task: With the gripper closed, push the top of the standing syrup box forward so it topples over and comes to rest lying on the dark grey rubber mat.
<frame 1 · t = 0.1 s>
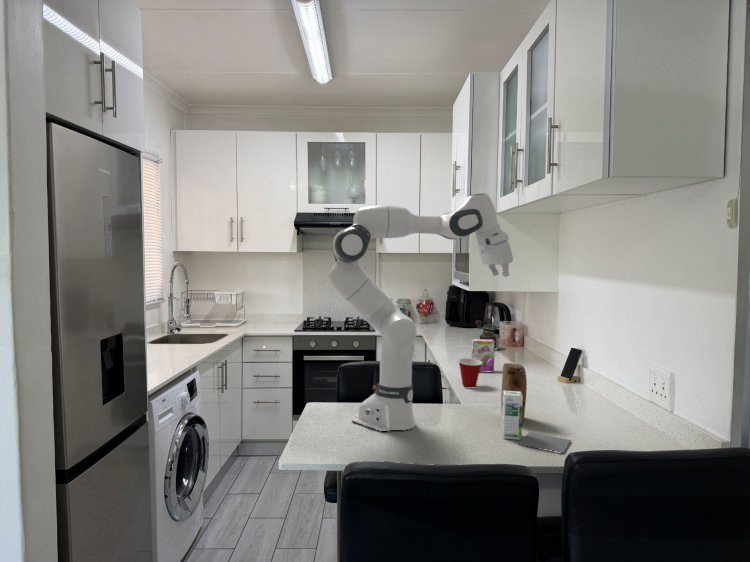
hand: (501, 275, 173), 52 cm above the table, tool tilted 20°, fingers open, 8 cm apart
block: (513, 420, 176), on the table
syrup box: (511, 437, 160), on the table
candy bar box: (482, 371, 253), on the table
plastic cup: (469, 387, 222), on the table
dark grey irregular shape: (485, 349, 318), on the table
mat: (545, 443, 154), on the table
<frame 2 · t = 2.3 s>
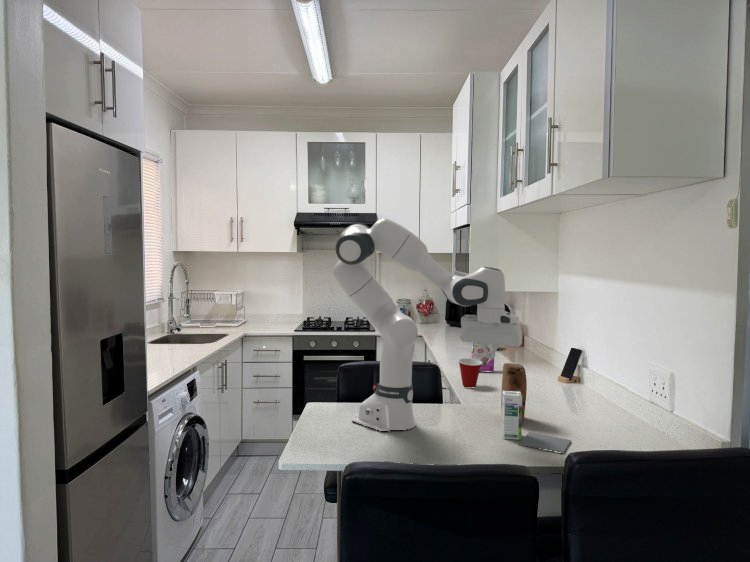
hand: (489, 357, 163), 25 cm above the table, tool pointing down, fingers closed
nothing on the table moved.
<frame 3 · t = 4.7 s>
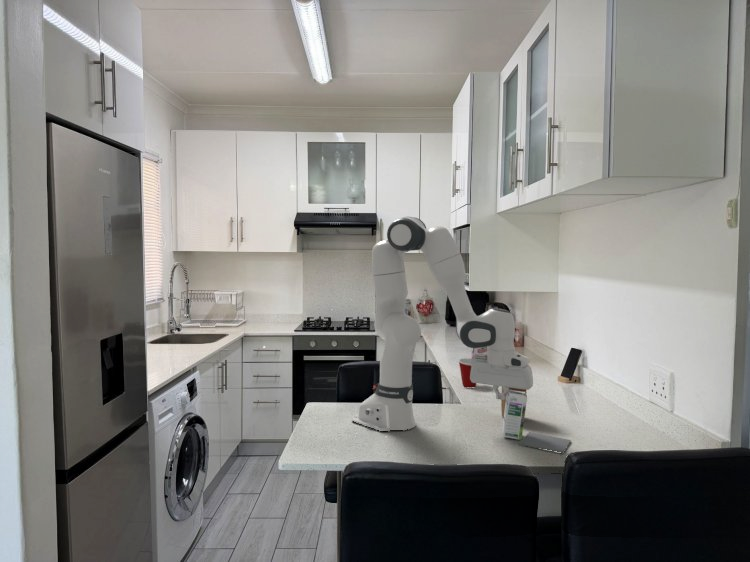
hand: (500, 399, 162), 12 cm above the table, tool pointing down, fingers closed
syrup box: (511, 436, 160), on the table, touching gripper
everything else where it was.
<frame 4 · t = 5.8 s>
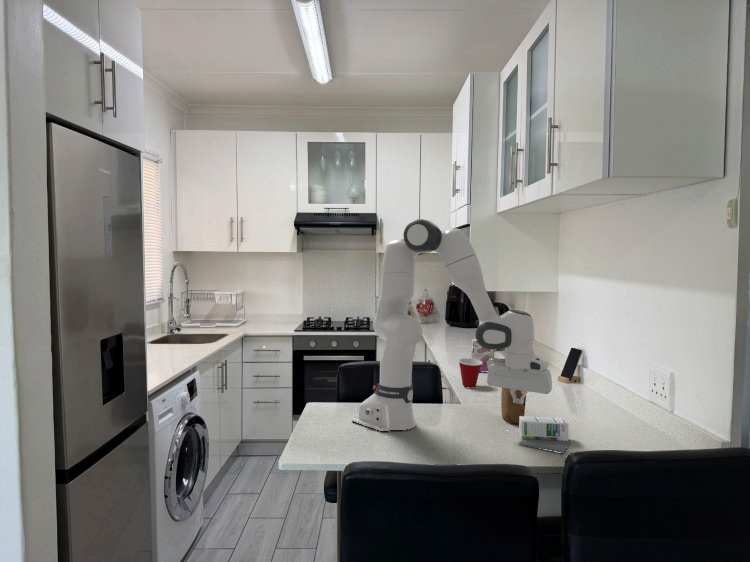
hand: (518, 403, 158), 11 cm above the table, tool pointing down, fingers closed
syrup box: (519, 426, 159), point 3 cm above the table, touching mat
everything else where it was.
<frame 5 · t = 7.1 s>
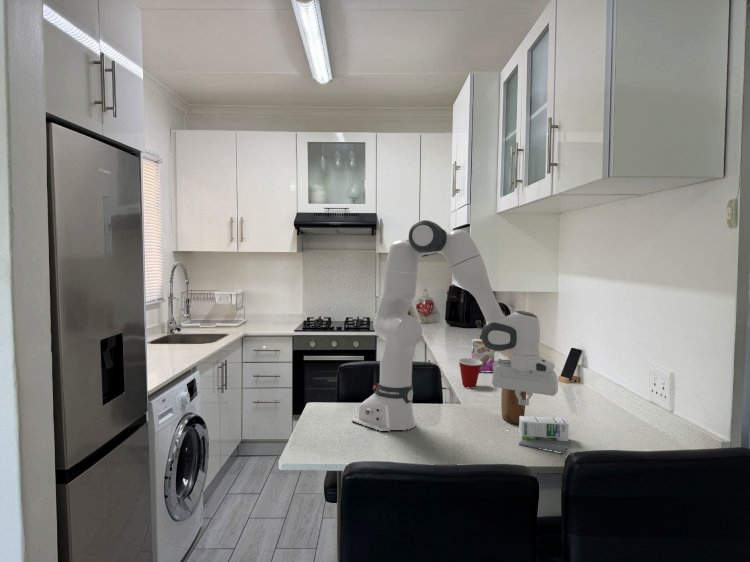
hand: (523, 404, 157), 11 cm above the table, tool pointing down, fingers closed
nothing on the table moved.
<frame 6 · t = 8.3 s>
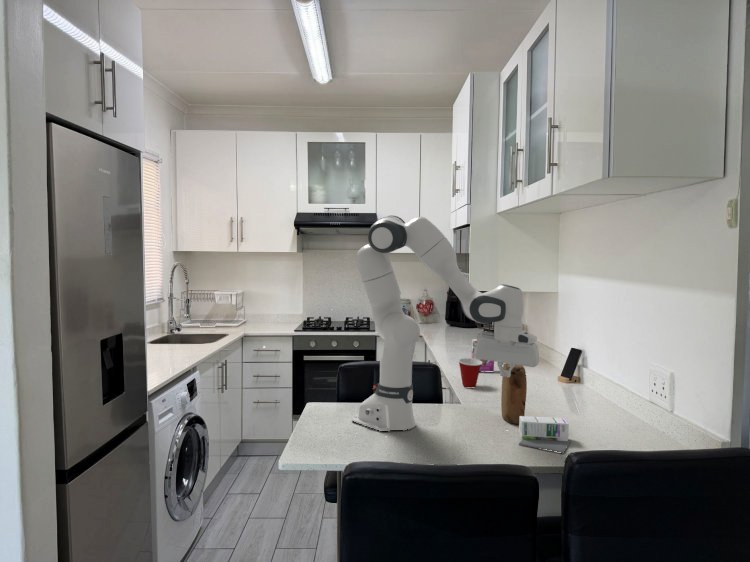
hand: (505, 376, 161), 19 cm above the table, tool pointing down, fingers closed
nothing on the table moved.
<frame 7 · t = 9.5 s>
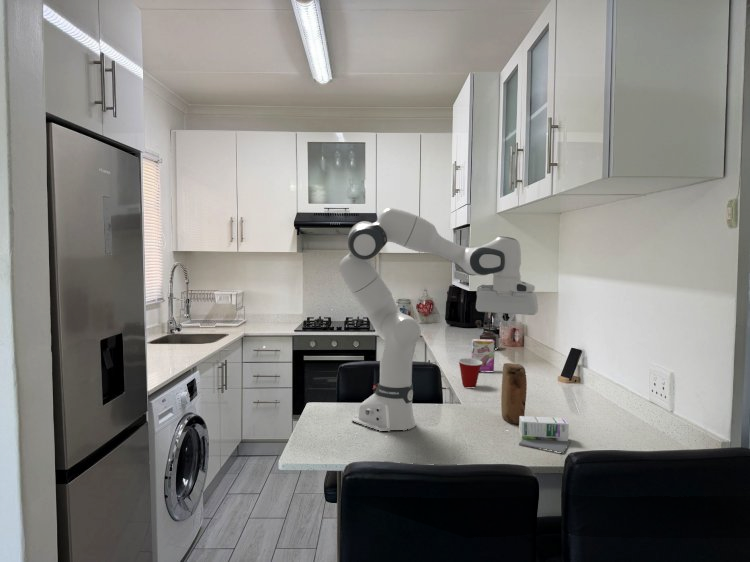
hand: (505, 326, 165), 35 cm above the table, tool pointing down, fingers closed
nothing on the table moved.
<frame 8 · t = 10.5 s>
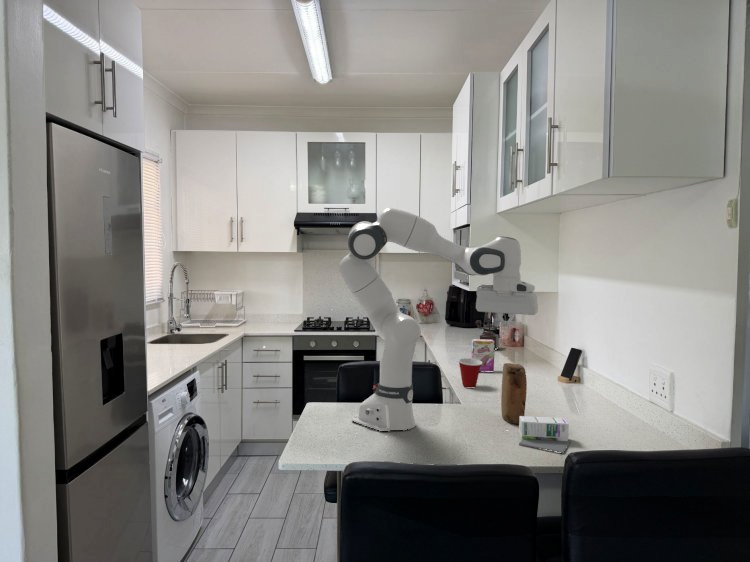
hand: (505, 326, 165), 35 cm above the table, tool pointing down, fingers closed
nothing on the table moved.
at the end: syrup box tilted 90°; syrup box inside the target area (7.8 cm from its centre), point 3.5 cm above the table; the gripper is holding nothing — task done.
